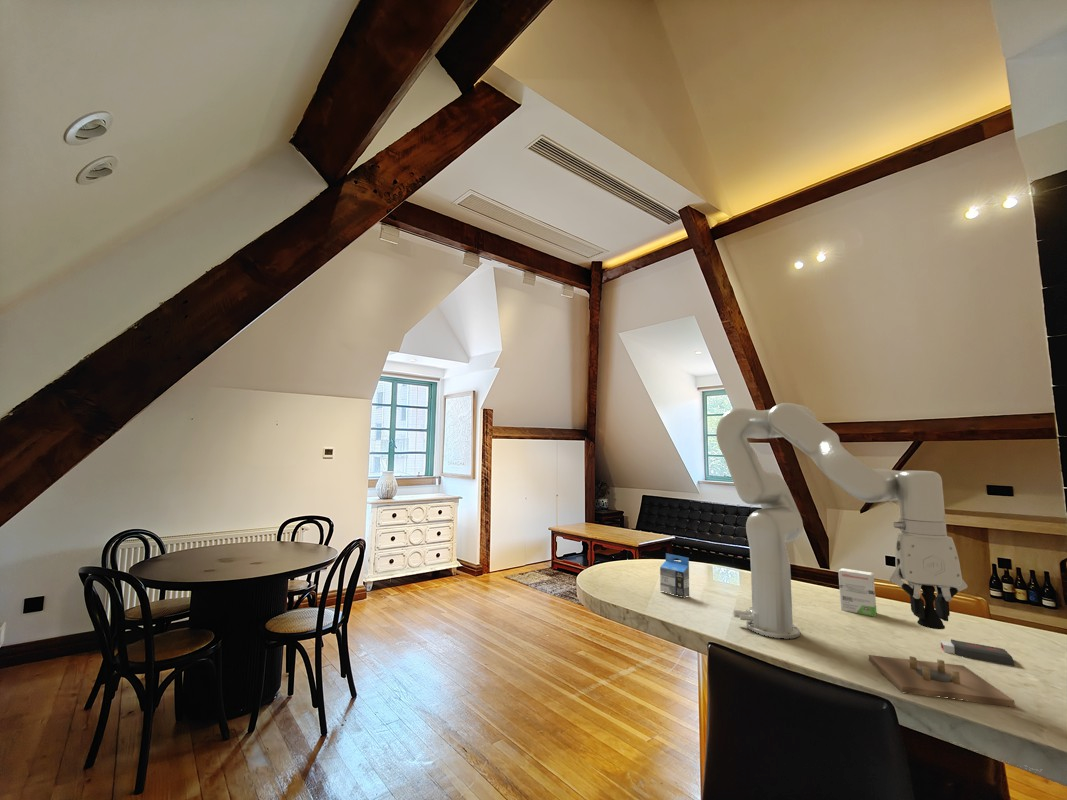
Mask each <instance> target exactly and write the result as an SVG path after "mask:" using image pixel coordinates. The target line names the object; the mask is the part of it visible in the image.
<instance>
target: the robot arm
mask: <svg viewBox="0 0 1067 800" xmlns="http://www.w3.org/2000/svg"><path fill="white" fill-rule="evenodd" d="M715 431H716V436H715V437H716V442H717V444H718V447H719V449H720V452H721V454H722V456H723V458H724V461H725V463H726V466H727V469H728V472H729V474H730V477H731V480H732V482H733V485H734V488H735V490H736V493H737V495H738V498H740V499H741V501H742V502H743V503H745V504H747V505H751V506H752V505H753V506H755V505H756V506H758V505H760V507H761V508H760V509H756V510H755V511H753V512H752V513H750V514H749V516H748V517H747V520H746V523H745V530H746V531H745V532H746V536H747V541H748V546H749V547H748V548H749V558H750V559H749V560H750V579H751V580H750V582H751V583H750V584H751V606H749V607H748V608H749V609H745V610H739V609H733V617H734V618H737V619H739V620H740V621H745V622H746V627H747V628H748V629H749V630H750V631H751V630H752V631H751V632H753V631H754V632H753V633H755V632H756V633H755V634H758V633H759V634H758V635H761V636H764V635H765V637H768V636H769V637H770V638H773V637H774V639H780V638H784V640H788V639H789V638H790V639H796V638H798V637H800V635H801V631H800V630H801V629H800V628H799V627H798V626H796V625H795V624H794V623H793V601H792V600H793V598H792V580H791V579H792V575H791V574H792V573H791V563H790V555H789V552H788V549H787V545H786V543H789V542H793V541H795V540H797V539H799V537H801V535H802V533H803V530H804V523H803V522H804V521H803V518H802V516H801V513H800V511H799V509H798V507H797V504H796V502H795V500H794V497H793V496H792V493H791V491H790V489H789V485H787V482H786V480H784V479H783V478H782V477H781V475H779V474H778V473H777V472H774V471H771V470H764V469H763V466H762V465H761V463H760V460H759V457H758V454H757V452H755V450H754V448H753V447H752V445H751V444H750V443H749V441H748V439H761V440H763V439H775V438H776V439H777V438H784V439H785V440H787V441H788V442H789V443H790V444H791V445H793V446H794V447H796V448H797V449H799V450H800V451H801V452H802V453H804V454H805V455H806V456H808V457H809V458H810V459H811V460H812V461H813V462H814V464H815V465H816V466H817V468H819V470H820V471H821V472H822V474H824V475H825V476H826V477H827V478H828V479H829V480H830V481H831V482H833V483H834V484H835V485H837V486H838V487H839V488H841V489H842V490H844V491H845V492H847V494H849V495H851V496H852V497H853V498H855V499H857V500H860V501H861V502H865V503H869V504H870V503H879V502H883V503H884V502H890V501H893V502H894V501H895V502H896V501H898V508H899V519H898V520H899V521H894V522H893V523H892V524H893V527H894V529H899V531H900V532H898V533H897V538H896V543H895V560H894V561H895V569H894V571H893V573H892V574H891V576H890V578H889V581H890V582H891V583H892V584H894V585H897V586H898V587H900V588H901V589H902V590H903V591H904V592H906V594H907V595H908V596H909V599H910V610H911V612H912V613H913V615H914V616H915V617H917V618H918V619H919V618H920V619H925V610H924V608H925V600H924V599H922V597H921V596H922V595H921V593H922V592H921V590H922V589H921V586H922V585H930V586H934V588H935V592H936V598H935V600H934V609H935V611H936V613H937V614H938V616H939V618H940V619H941V620H942V621H944V622H949V617H950V602H951V601H952V598H953V597H954V596H955V595H957V594H958V593H959V592H961V591H964V590H965V589H968V584H967V583H966V582H965V580H964V578H963V576H962V575H963V574H962V570H961V564H960V559H959V555H958V551H957V548H956V545H955V542H954V540H953V537H952V536H948V534H947V532H948V531H947V522H946V511H945V502H944V501H945V500H944V499H945V498H944V489H943V479H942V476H941V474H939V473H938V472H936V471H934V470H913V469H912V470H908V469H907V470H895V469H889V468H873V467H869V466H868V465H866V464H865V463H864V462H862V461H861V460H860V459H858V458H857V457H855V456H854V455H853V454H852V453H850V452H849V451H847V449H845V447H844V446H843V445H842V444H841V441H840V437H839V434H837V432H835V431H834V430H832V429H831V428H830V427H828V426H826V424H823V423H822V422H821V421H819V420H818V419H817V418H816V415H815V413H814V411H812V410H811V408H809V407H807V406H805V405H802V404H796V403H790V402H781V403H778V404H776V405H774V406H773V407H772V408H770V409H762V410H759V409H752V408H746V407H745V408H744V407H737V408H733V409H732V408H731V409H730V410H728V411H726V412H724V414H723V415H722V416H721V418H720V419H719V421H718V423H717V426H716V430H715ZM902 580H904V581H906V583H905V582H903V581H902ZM769 637H768V638H769Z"/></svg>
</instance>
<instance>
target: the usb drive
mask: <svg viewBox="0 0 1067 800" xmlns="http://www.w3.org/2000/svg"><path fill="white" fill-rule="evenodd" d="M940 648H941V650H942V651H943V653H947V654H952V653H953V655H955V654H956V656H959V657H962V656H963V658H968V659H973V660H977V661H983V662H989V663H995V664H999V665H1005V666H1010V665H1011V667H1016V664H1015V660H1014V658H1013V656H1012V655H1011V654H1010V653H1009V652H1008V651H1007V650H1006V649H1004V648H1001V647H995V646H989V645H984V644H978V643H974V642H973V643H972V642H967V641H960V640H956V639H953V638H951V639H950V641H946V640H940Z"/></svg>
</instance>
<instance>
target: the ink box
mask: <svg viewBox="0 0 1067 800" xmlns="http://www.w3.org/2000/svg"><path fill="white" fill-rule="evenodd" d="M874 575H875V574H874V572H870V571H869V572H868V571H864V570H858V569H857V570H856V569H849V568H843V567H841V568H840V569H838V586H839V602H840V610H841V611H844V612H850V613H854V614H859V615H866V616H870V617H876V615H877V612H878V611H877V605H876V604H877V599H876V590H875V589H876V587H875V576H874Z"/></svg>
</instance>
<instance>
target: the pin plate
mask: <svg viewBox="0 0 1067 800" xmlns="http://www.w3.org/2000/svg"><path fill="white" fill-rule="evenodd" d="M908 657H909V658H899V657H890V656H883V655H882V656H881V655H872V654H868V662H870V664H872V666H874V667H875V668H876V669H877V670H878V671H879V673H881V674H882V675H883V676H885V678H887V680H889V682H891V684H892V685H894V686H895V687H896V688H897V690H899V691H900V690H901V691H902V692H906V693H905V694H908V693H912V694H911V695H916V694H919V695H918V696H923V695H928V696H927V697H931V696H940V697H948V698H955V699H963V700H968V701H967V702H970V701H972V702H971V703H979V704H984V705H993V706H1001V705H1002V707H1008V706H1009V708H1015V707H1016V704H1015V700H1014V699H1013V698H1011V697H1010V696H1008V695H1007V694H1005V693H1004V692H1003V691H1001V690H1000V689H998V688H997V687H995V686H994V685H993V684H991V683H990V682H989V681H987V680H985V679H983V678H982V677H981V676H979V675H978V674H976V673H975V672H974V671H972V670H971V669H969V668H968V667H966V666H965V665H962V664H954V663H953V664H952V663H945V661H944V660H943V659H936V662H934V661H928V660H926V661H925V660H918V659H917V657H915V656H910V655H909V656H908ZM901 691H900V692H901ZM902 692H901V693H902Z"/></svg>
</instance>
